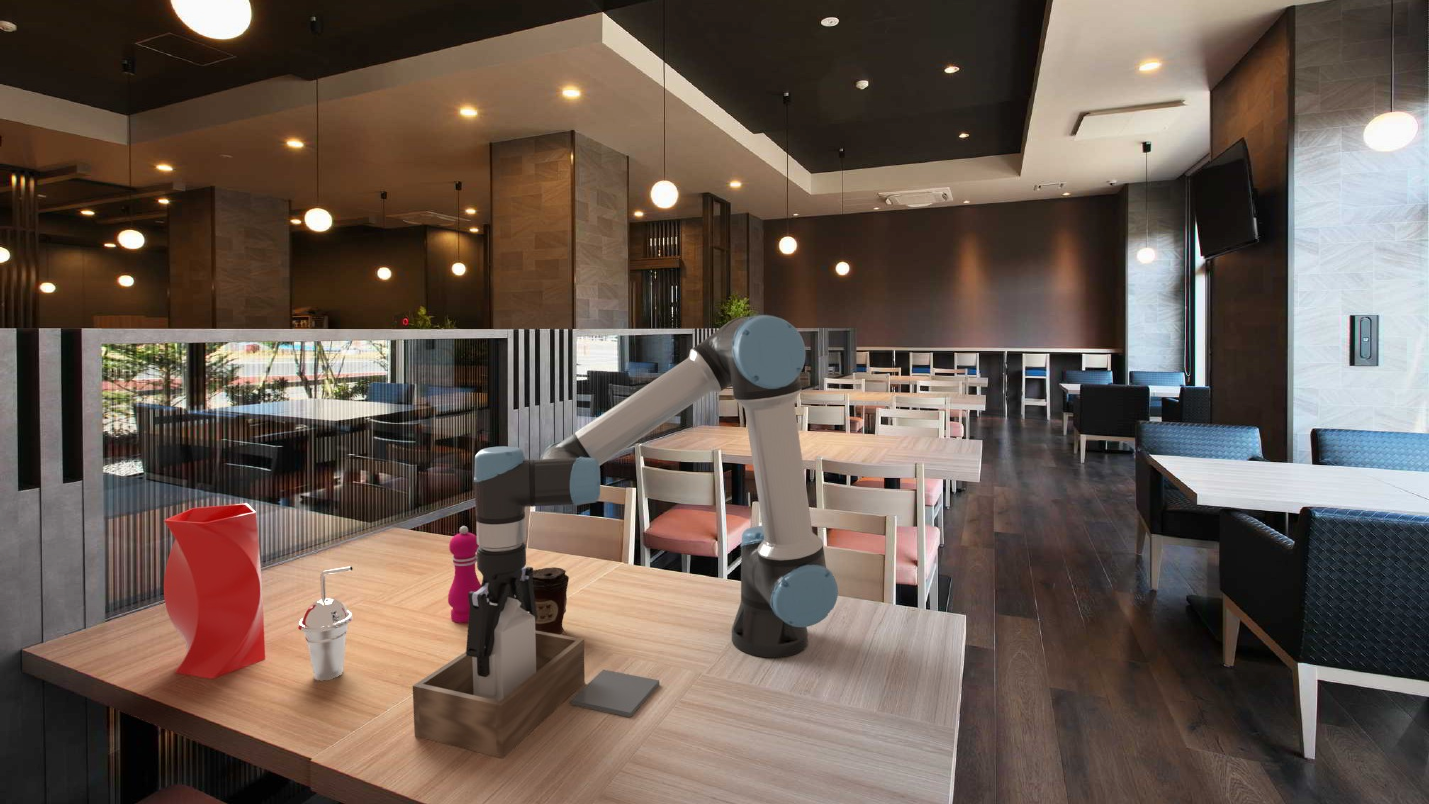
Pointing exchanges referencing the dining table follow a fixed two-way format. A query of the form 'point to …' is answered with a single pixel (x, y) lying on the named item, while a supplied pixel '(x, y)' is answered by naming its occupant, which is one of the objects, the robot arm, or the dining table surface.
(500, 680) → the milk carton
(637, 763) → the dining table surface
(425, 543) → the dining table surface
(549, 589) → the coffee cup
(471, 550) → the pepper mill
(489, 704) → the crate
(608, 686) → the coaster
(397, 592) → the dining table surface
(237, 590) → the vase
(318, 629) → the cup with straw
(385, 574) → the dining table surface
